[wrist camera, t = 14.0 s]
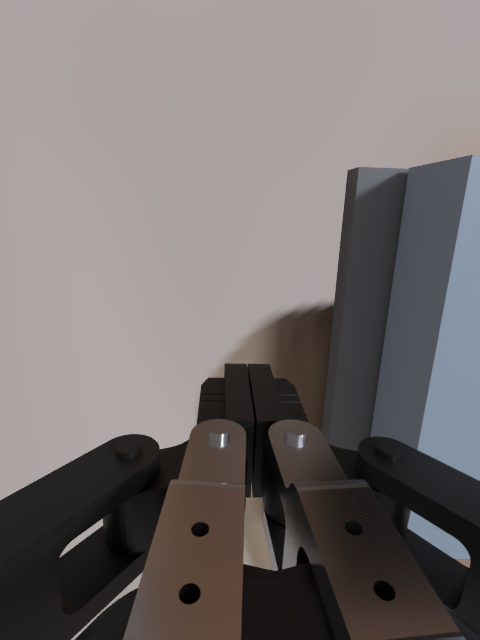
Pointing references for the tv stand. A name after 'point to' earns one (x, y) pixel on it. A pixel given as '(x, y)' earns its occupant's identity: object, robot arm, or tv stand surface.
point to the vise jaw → (435, 328)
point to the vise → (362, 301)
